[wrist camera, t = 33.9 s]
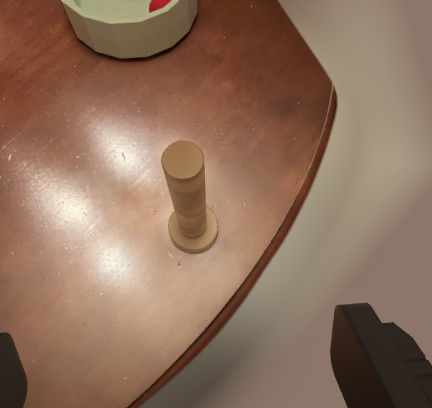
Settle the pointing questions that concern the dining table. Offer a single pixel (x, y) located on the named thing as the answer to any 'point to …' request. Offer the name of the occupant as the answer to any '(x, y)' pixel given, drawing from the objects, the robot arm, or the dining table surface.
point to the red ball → (157, 4)
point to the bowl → (129, 25)
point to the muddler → (188, 198)
